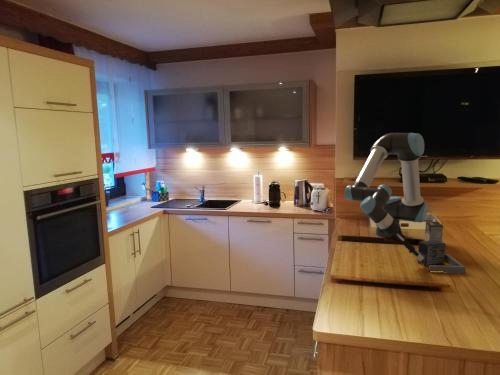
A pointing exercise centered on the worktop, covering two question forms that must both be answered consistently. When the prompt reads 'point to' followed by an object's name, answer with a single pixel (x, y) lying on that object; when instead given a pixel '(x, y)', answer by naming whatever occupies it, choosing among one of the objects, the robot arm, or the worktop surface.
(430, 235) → the coffee box
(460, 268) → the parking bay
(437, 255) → the small box
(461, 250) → the worktop surface
